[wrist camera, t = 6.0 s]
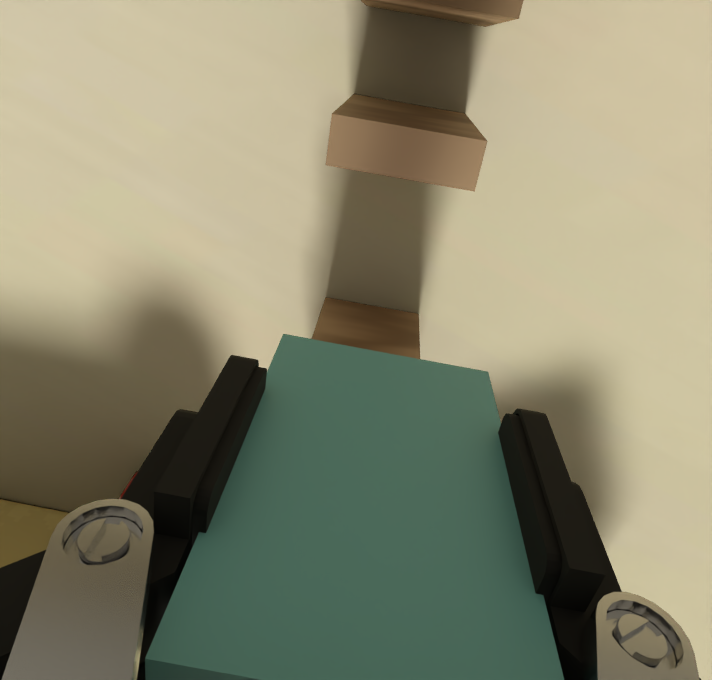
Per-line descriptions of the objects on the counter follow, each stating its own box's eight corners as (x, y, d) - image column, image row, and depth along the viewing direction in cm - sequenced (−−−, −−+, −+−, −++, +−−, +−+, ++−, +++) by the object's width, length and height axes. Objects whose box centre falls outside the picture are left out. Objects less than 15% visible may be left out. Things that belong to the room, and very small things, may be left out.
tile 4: (418, 313, 29) (421, 398, 22) (412, 340, 30) (413, 430, 23) (325, 297, 29) (299, 376, 22) (321, 323, 30) (295, 408, 23)
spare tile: (488, 371, 13) (578, 737, 6) (470, 424, 14) (534, 802, 7) (283, 333, 13) (144, 658, 6) (277, 388, 14) (146, 733, 7)
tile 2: (465, 113, 25) (487, 141, 18) (456, 150, 25) (474, 191, 18) (354, 93, 25) (332, 113, 18) (349, 131, 25) (325, 165, 18)
